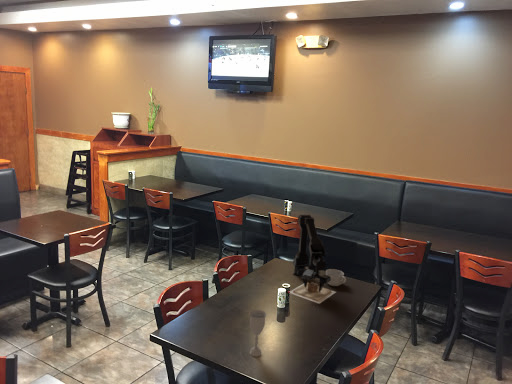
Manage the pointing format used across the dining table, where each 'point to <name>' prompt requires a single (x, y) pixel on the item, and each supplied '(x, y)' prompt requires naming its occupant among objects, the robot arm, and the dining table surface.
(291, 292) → the mat
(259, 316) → the chalice
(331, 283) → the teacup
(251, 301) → the dining table surface
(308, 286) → the lid
